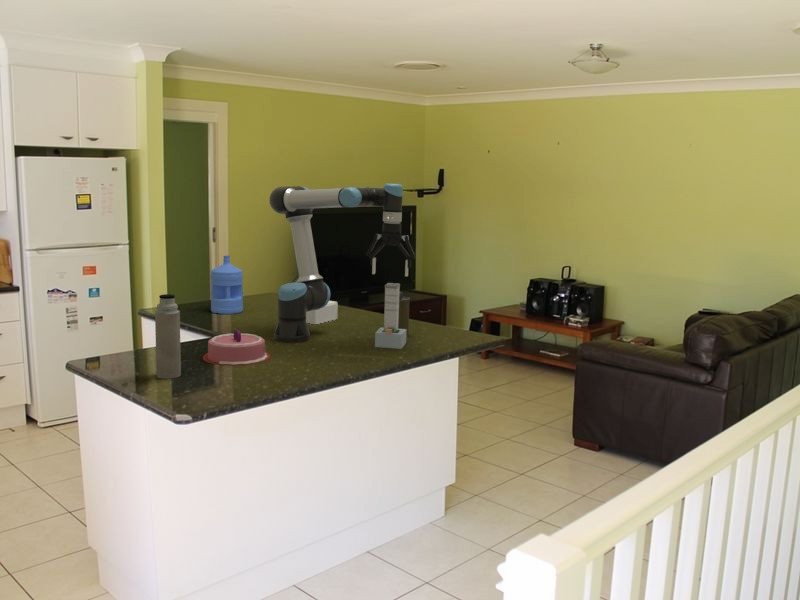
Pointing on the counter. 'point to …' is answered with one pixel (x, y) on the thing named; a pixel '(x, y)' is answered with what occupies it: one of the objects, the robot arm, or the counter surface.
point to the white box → (323, 314)
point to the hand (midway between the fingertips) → (390, 275)
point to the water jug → (226, 288)
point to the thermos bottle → (167, 338)
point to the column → (391, 306)
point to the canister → (403, 312)
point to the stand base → (390, 338)
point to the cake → (236, 349)
